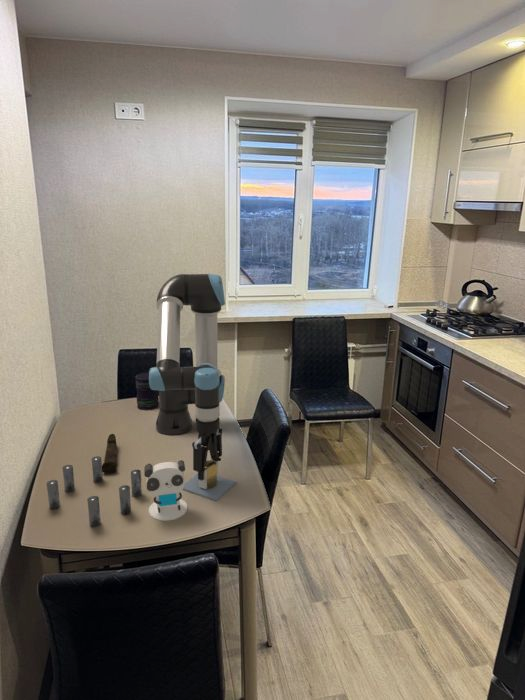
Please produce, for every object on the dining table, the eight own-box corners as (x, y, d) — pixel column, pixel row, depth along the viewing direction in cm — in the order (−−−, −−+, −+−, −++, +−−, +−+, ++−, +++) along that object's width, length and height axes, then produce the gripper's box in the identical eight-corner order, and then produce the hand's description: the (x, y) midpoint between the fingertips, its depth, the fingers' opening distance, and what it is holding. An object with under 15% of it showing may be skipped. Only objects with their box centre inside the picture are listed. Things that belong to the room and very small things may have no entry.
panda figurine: (146, 523, 136) (144, 476, 132) (146, 501, 146) (144, 457, 142) (188, 517, 139) (187, 472, 135) (185, 496, 149) (184, 453, 145)
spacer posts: (91, 474, 161) (89, 452, 159) (152, 496, 149) (151, 474, 147) (39, 503, 144) (36, 480, 142) (103, 532, 132) (101, 506, 130)
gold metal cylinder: (206, 477, 159) (206, 458, 157) (220, 482, 156) (220, 462, 154) (196, 485, 154) (195, 466, 152) (210, 490, 151) (210, 470, 150)
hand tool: (116, 474, 162) (115, 459, 160) (102, 475, 161) (101, 460, 159) (122, 444, 183) (121, 431, 182) (109, 445, 182) (108, 431, 181)
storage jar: (152, 400, 226) (151, 370, 222) (162, 407, 219) (161, 376, 215) (133, 405, 220) (131, 375, 216) (143, 412, 213) (141, 380, 209)
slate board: (201, 472, 164) (201, 470, 163) (236, 483, 157) (236, 481, 157) (179, 488, 153) (179, 487, 153) (216, 501, 147) (216, 499, 147)
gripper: (214, 405, 158) (214, 467, 165) (179, 425, 143) (181, 493, 149) (233, 409, 155) (233, 473, 161) (199, 430, 139) (201, 500, 145)
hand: (208, 482), depth 155 cm, fingers closed on gold metal cylinder, 5 cm apart
